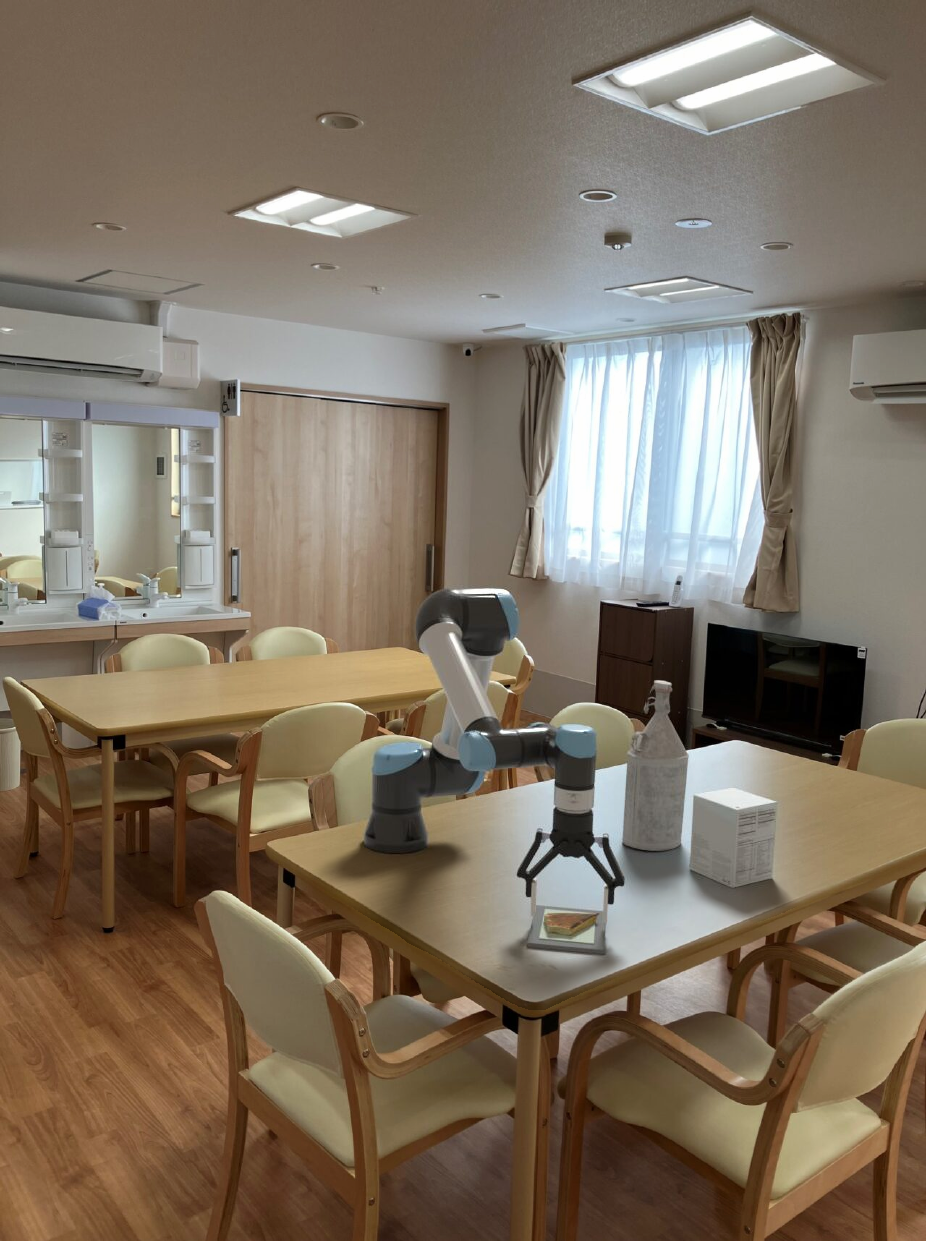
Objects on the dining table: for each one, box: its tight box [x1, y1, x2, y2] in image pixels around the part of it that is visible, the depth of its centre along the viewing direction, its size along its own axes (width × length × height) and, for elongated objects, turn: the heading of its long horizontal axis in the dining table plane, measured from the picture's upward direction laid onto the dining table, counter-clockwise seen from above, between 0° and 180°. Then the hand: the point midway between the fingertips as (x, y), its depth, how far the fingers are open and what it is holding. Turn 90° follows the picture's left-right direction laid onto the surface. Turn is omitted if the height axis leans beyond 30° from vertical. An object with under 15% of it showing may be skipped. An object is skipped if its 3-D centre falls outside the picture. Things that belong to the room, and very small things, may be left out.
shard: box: [544, 913, 599, 935], centre depth 191 cm, size 11×8×2 cm
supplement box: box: [689, 787, 778, 889], centre depth 224 cm, size 13×13×18 cm
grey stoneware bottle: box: [621, 679, 690, 852], centre depth 242 cm, size 13×17×40 cm
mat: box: [526, 904, 607, 955], centre depth 192 cm, size 14×18×1 cm
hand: (568, 916), depth 192 cm, fingers open, 13 cm apart
